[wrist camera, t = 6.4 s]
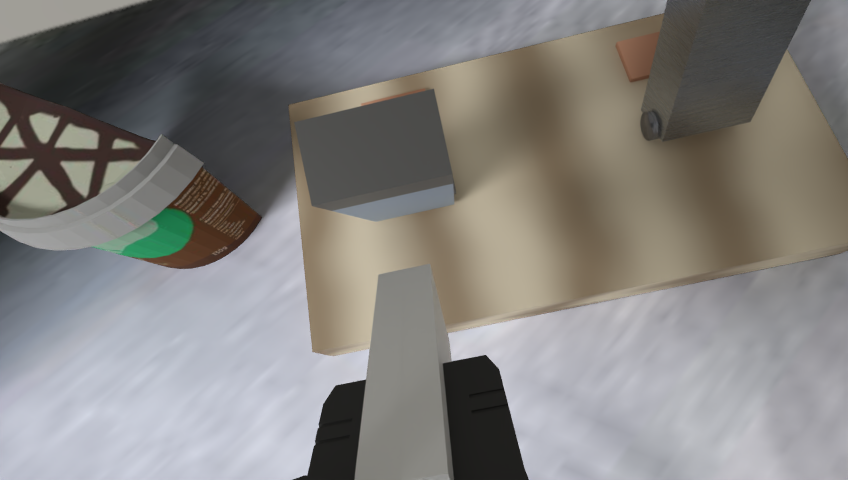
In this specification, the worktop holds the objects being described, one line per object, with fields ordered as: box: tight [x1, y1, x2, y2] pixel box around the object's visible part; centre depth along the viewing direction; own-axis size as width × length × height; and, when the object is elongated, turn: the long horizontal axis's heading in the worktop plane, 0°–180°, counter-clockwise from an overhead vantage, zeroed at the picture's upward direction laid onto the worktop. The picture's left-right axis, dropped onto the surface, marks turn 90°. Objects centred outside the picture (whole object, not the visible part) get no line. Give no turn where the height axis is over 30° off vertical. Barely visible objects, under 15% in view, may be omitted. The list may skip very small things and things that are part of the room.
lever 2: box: [640, 0, 811, 142], centre depth 18 cm, size 4×2×11 cm, turn 101°
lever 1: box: [294, 89, 456, 222], centre depth 18 cm, size 4×2×11 cm, turn 100°
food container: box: [0, 82, 262, 269], centre depth 23 cm, size 12×6×10 cm, turn 67°
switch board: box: [288, 14, 848, 356], centre depth 24 cm, size 26×14×3 cm, turn 101°
